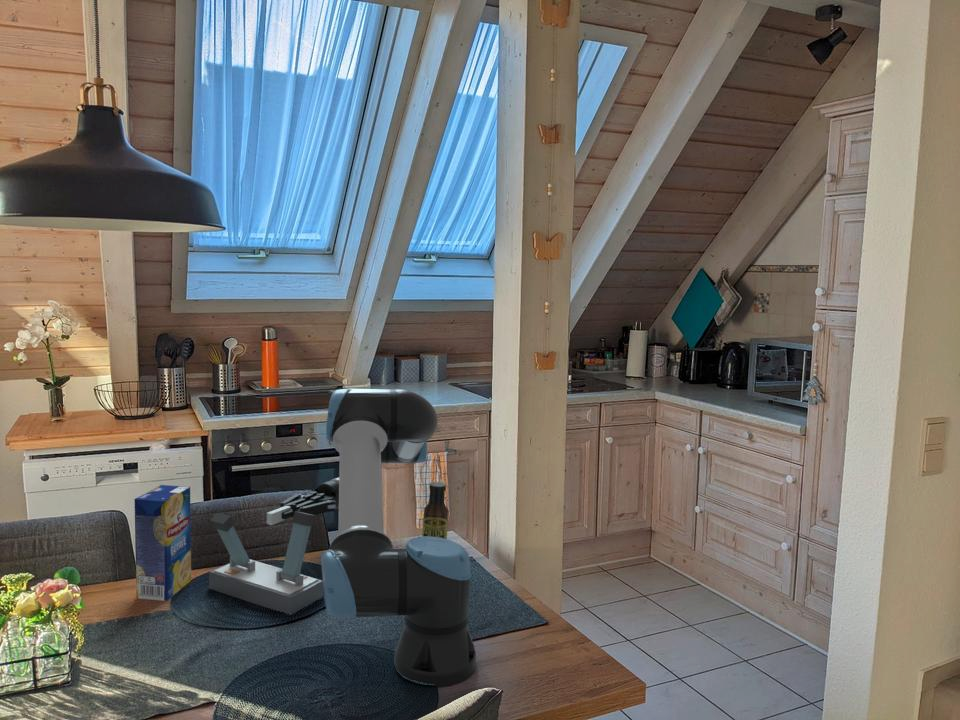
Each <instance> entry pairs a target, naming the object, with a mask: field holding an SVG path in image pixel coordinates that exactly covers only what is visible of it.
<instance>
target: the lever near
mask: <svg viewBox="0 0 960 720" xmlns="http://www.w3.org/2000/svg"><path fill="white" fill-rule="evenodd" d="M315 519H316V515H311V514H307V513H303V512H296V511H295V512H294V516H293V517H292V521H291V523H292V524H293V525H292V528H291V533H290V536H289V541H288V545H287V549H286V554H285V557H284V562H283V565H282V566H283V567H282V568H281V569H282V573H281V578H282V579H285V580H288V581H292V582H295V577H296V576H298V575H300V574H301V570H302V565H303V561H304V559H305V558H304V557H305V553H306V550H307V544H308V541H309V536H310V531H311V528H312V527H314V523H315Z"/></svg>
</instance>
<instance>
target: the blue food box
mask: <svg viewBox="0 0 960 720" xmlns="http://www.w3.org/2000/svg"><path fill="white" fill-rule="evenodd" d="M133 500H134V536H135V538H134V541H135V542H134V546H135V550H134V551H135V591H136V593H135V595H136V599H140V600H153V601H161V602H162V601H163V602H167V601H169V599H171V598H172V597H173V596H174V595H175V594H177V593H178V592H179V591H181V590H182V589H183V588H184V587H186V586H187V585H188V584H189V583H191V581H192V547H191V546H192V542H191V541H192V536H191V535H192V533H191V530H192V529H191V528H192V527H191V522H192V521H191V520H192V519H191V486H181V485H180V486H179V485H168V484H166V485H165V484H161V485H159V486H157V487H155V488H153V489H151V490H149V491H147V492H146V493H144V494H141V495H140V496H138V497H136V498H134V499H133Z"/></svg>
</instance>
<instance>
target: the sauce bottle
mask: <svg viewBox="0 0 960 720" xmlns="http://www.w3.org/2000/svg"><path fill="white" fill-rule="evenodd" d="M428 488H429V489H428V490H429V499H428V503H427V505H426V506H425V508H424V510H423V518H422V532H421V533H422V534H421V536H431V537H439V538H444V539H447V540H448V525H449V510H448V507H447V505H446V504H445V501H446V500H445V495H446V493H445V492H446V490H447V485H446V483H444V482H442V481H434V482H430V483H429V487H428Z"/></svg>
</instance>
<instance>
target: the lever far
mask: <svg viewBox="0 0 960 720" xmlns="http://www.w3.org/2000/svg"><path fill="white" fill-rule="evenodd" d="M209 521H210V523H211V525H212V527H213V529H215V530H217V533H218V534H219V536H220V539H221V540H222V542H223V545H224V546H225V548H226V551H227V552H228V554H229V556H230V557H231V558H232V560H233V562H234V564H235V565H239V566H242V567H245V568H247V563H248V562H250V558H249V555H248V554H247V551H246V549H245V548H244V545H243V543H242V541H241V540H240V537H239V534H238V533H237V531H236V529H235V527H234V526H235V522H234V520H233V518H232V516H231V515H227V514H224V513H220V512H216V513H215V514H214V516H212V518H210V520H209Z"/></svg>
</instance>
